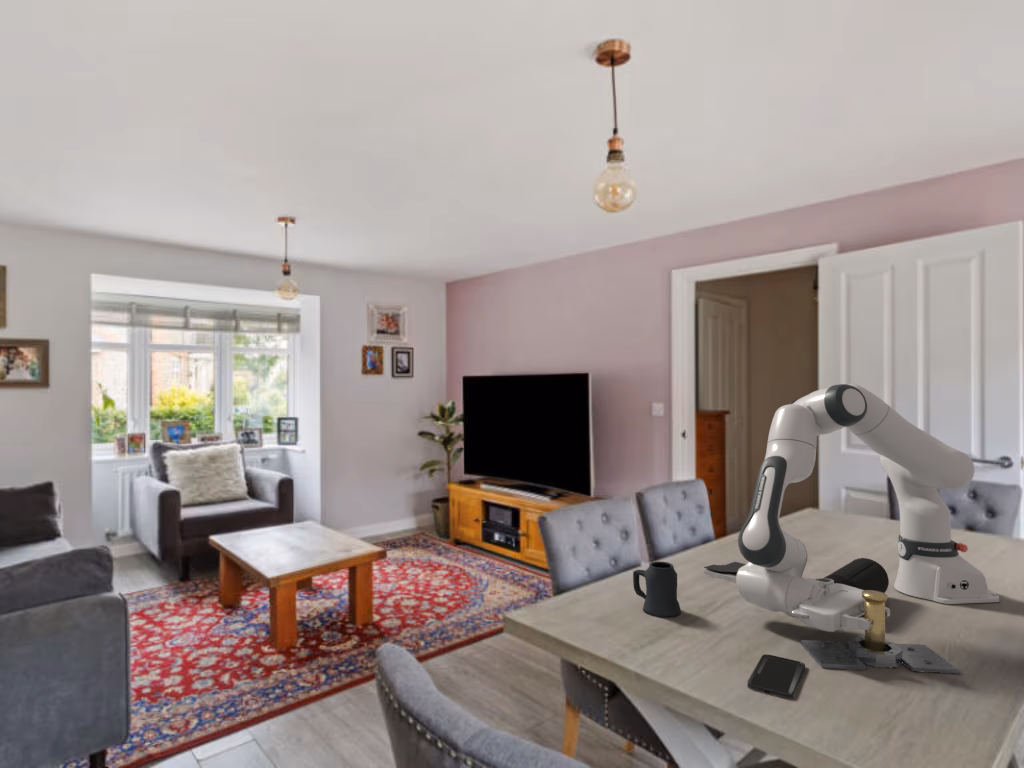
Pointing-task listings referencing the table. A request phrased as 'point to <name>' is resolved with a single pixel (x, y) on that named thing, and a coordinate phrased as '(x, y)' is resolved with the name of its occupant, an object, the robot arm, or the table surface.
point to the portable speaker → (862, 575)
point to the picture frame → (725, 570)
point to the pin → (875, 619)
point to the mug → (659, 590)
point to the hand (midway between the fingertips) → (879, 619)
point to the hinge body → (876, 656)
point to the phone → (776, 676)
